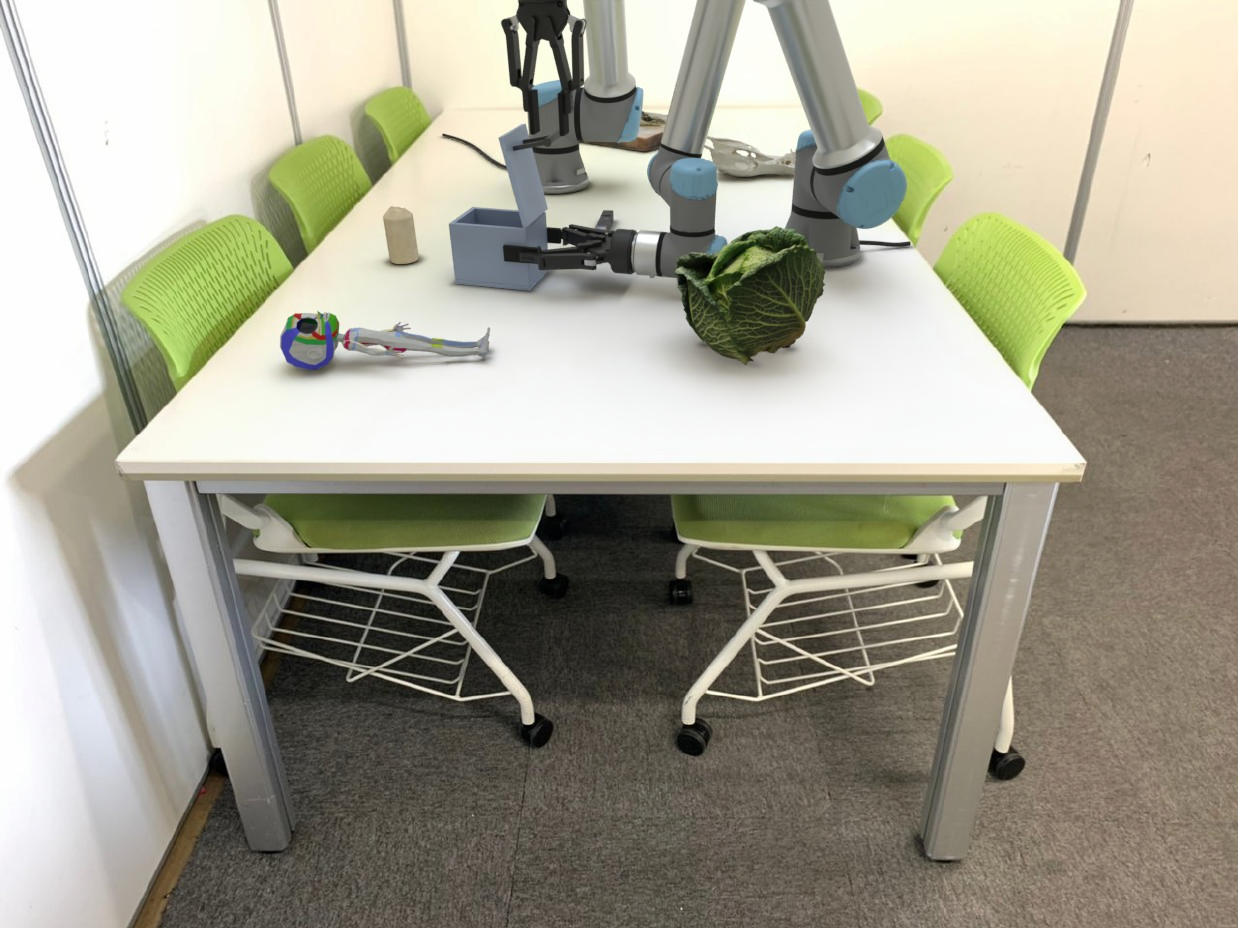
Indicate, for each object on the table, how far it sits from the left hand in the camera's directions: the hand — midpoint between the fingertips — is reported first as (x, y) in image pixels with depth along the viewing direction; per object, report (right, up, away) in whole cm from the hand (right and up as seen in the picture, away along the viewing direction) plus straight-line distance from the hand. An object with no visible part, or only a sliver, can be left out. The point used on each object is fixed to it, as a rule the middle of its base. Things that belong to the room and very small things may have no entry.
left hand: (549, 133), depth 148 cm
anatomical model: (+43, +17, +74) cm, 87 cm away
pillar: (+8, -8, +35) cm, 37 cm away
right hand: (-7, -15, +12) cm, 20 cm away
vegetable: (+31, -37, -12) cm, 50 cm away
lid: (-5, -5, +5) cm, 9 cm away
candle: (-30, -15, +25) cm, 42 cm away
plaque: (+16, +40, +111) cm, 120 cm away
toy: (-23, -39, -13) cm, 47 cm away
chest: (-10, -20, +16) cm, 28 cm away
